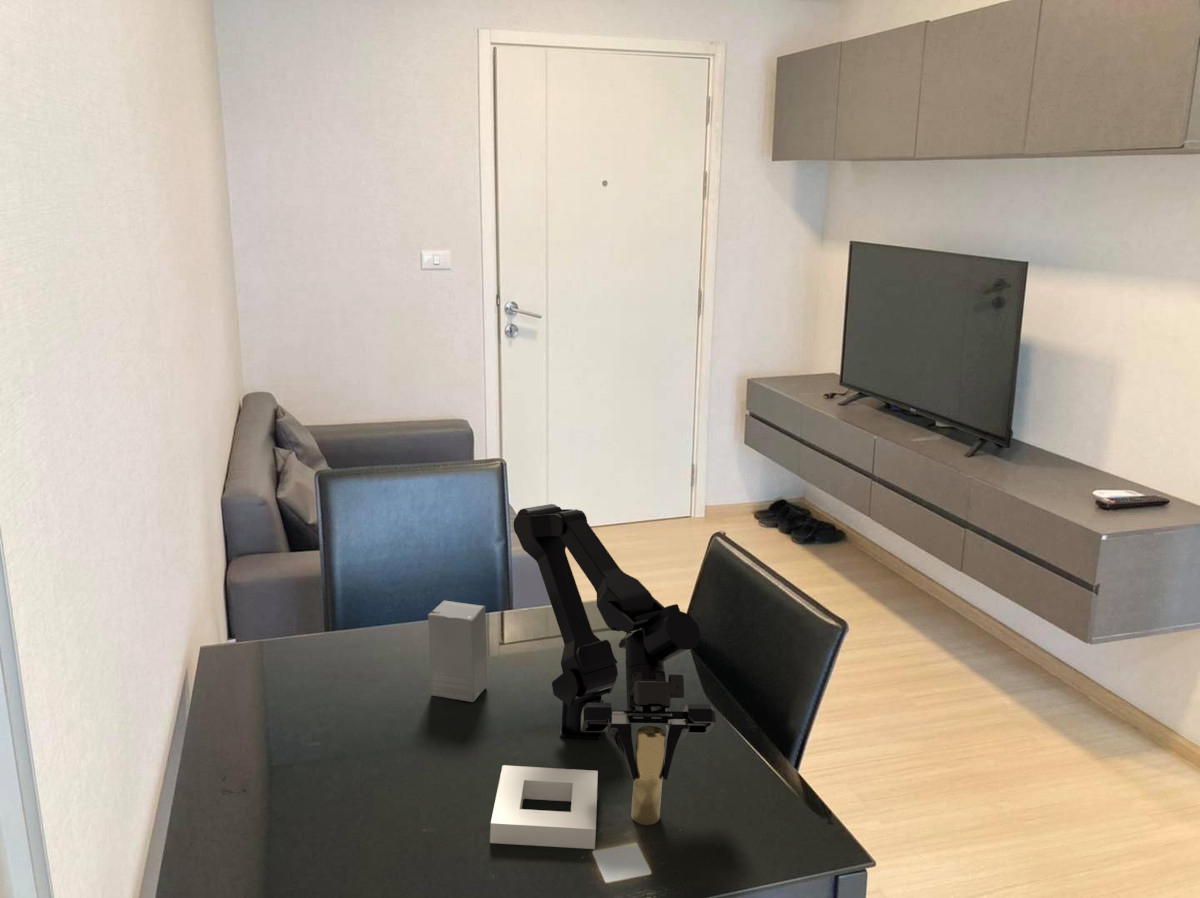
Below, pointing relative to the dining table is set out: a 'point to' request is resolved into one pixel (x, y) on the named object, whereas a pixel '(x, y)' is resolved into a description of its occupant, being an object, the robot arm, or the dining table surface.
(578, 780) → the socket block
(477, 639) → the skincare box
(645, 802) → the brass tube
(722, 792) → the dining table surface
